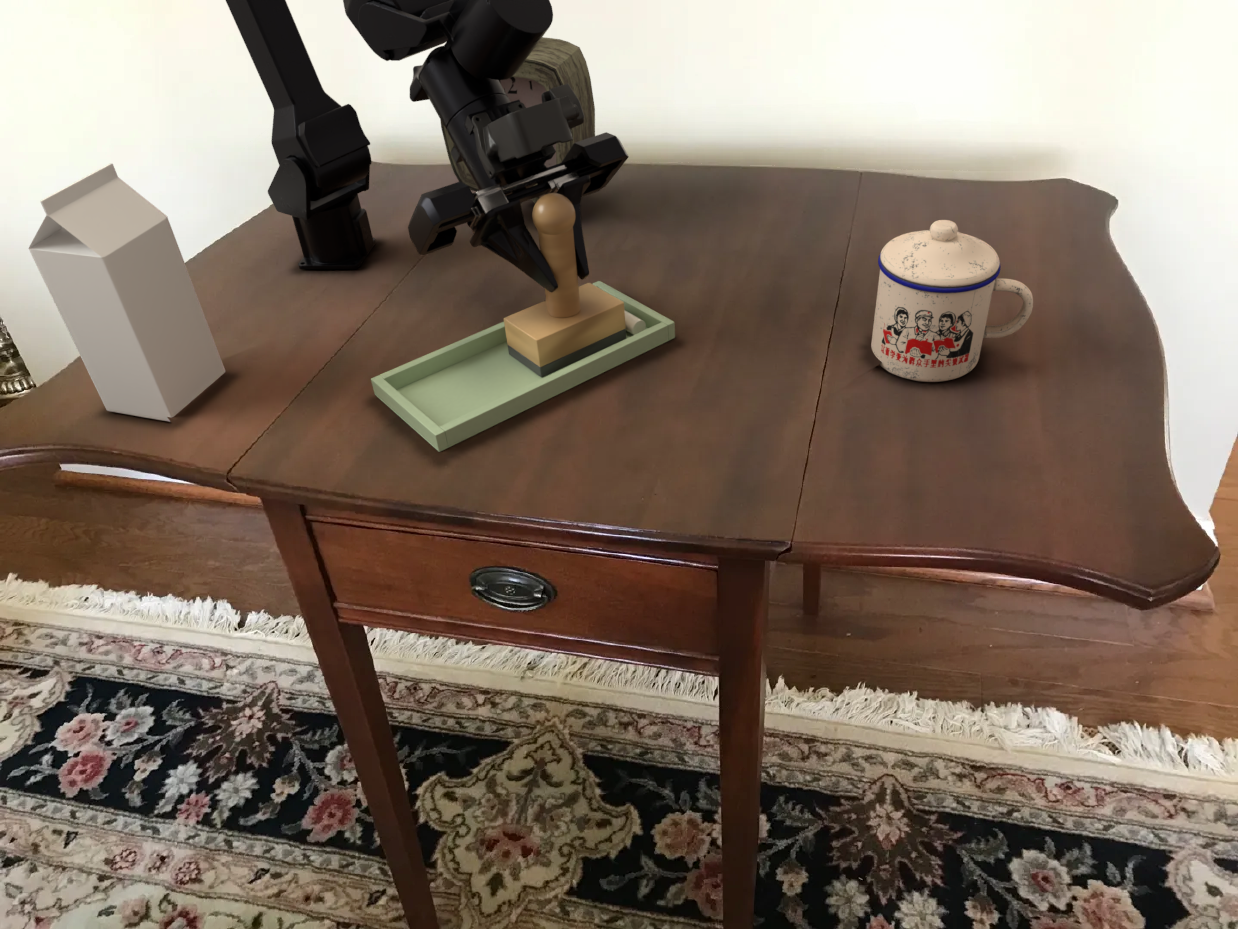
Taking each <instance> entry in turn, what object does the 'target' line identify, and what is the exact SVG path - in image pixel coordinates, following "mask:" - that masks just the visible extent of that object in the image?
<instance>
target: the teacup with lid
mask: <svg viewBox="0 0 1238 929" xmlns="http://www.w3.org/2000/svg"><path fill="white" fill-rule="evenodd" d="M877 263H878V264H877V265H878V267H879V275H878V276H879V277H878V283H877V293H876V301H875V308H874V318H873V320H874V321H873V327H872V334H871V335H872V336H871V344H870V347H871V351H872V353H873V355H874V356H875V357H876V359H878V361H880V363H878V365H879V366H880V367H881V368H882V369H883V370H885V371H886V372H888V373H890V374H892V375H895V376H897V377H900V378H902V379H906V380H910V381H916V382H924V383H938V382H947V381H951V380H955V379H959V378H961V377H963V376H965V375H967V374H969V373H970V372H971V371H973V369H974V368H975V367H976V366H977V364H978V362H979V361H980V360H979V359H980V355H981V351H982V346H983V340H984V339H1000V338H1005V337H1008V336H1010V335H1012V334H1014V333H1016V332H1017V331H1019V330H1020V329H1021V328H1023V326H1024V325H1025V324H1026V322H1027V321H1028V320H1029V318H1030V316H1031V314H1032V312H1033V307H1034V296H1033V293H1032V291H1031V290H1030V288H1029V287H1028V286H1027V285H1026V284H1024V283H1023V282H1021V281H1019V280H1016V279H1012V278H1002V277H1001V278H998V277H999V275H1000V272H1001V269H1002V268H1001V262H1000V258H999V255H998V253H997V251H996V250H995V249H994V248H993V247H992V246H991V245H990V244H988V243H987V242H986V241H984V240H983V239H980V238H978V237H976V236H973V235H970V234H966V233H962V232H960V231H959V227H958V225H957V223H956V222H954V221H952V220H949V219H939V220H935V221H934V222H932V224H931V225H930V227H929V229H924V230H923V229H922V230H916V231H910V232H907V233H903V234H901V235H897V236H896V237H894V238H892V239H890V240H889V241H888V242H887V243H886V244H885V245H884V246H883V248H882V249H881V251H880V253H879V255H878V259H877ZM993 292H1008V293H1013V294H1015V295H1017V296H1019V297H1020V298H1021V299H1022V302H1023V303H1022V306H1021V309H1020V310H1019V312H1018V313H1017V314H1016V315H1015V316H1013V318H1012V319H1010V320H1009V321H1007V322H1006V323H1003V324H998V325H987V320H988V316H989V312H990V311H989V310H990V306H991V302H992V301H991V300H992V296H993Z"/></svg>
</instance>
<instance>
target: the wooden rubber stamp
mask: <svg viewBox="0 0 1238 929" xmlns="http://www.w3.org/2000/svg"><path fill="white" fill-rule="evenodd" d="M575 217H576V215H575V209H574V206H573V204H572V203H571V201H570V200H569V199H568V198H566V197H565V196H563V195H561V194H558V193H549V194H546V195H544V196H542V197H541V198H540V199H538V201H537V202H536V203H534V205H533V207H532V213H531V218H532V223H533V226H534V227H535V228H536V230H537V235H538V236H537V237H538V244H539V249H540V251H541V253H542V255H543V256H544V258H545V260H546V261H547V263H548V265H549V266H550V268H551V270H552V272H553V275H554V277H555V279H556V281H557V284H558V288H557V289H556V291H554V292H552V293H551V292H549V291H548V290H546V289H545V288H544V294H545V300H543V301H541V302H539V303H537V304H534V305H532V306H529V307H527V308H525V309H522V310H520V311H517V312H514V313H512V314H509V315H508V316H505V317H503V322H504V325H505V331H506V338H507V344H508V351H509V355H511V356H512V357H513V358H515V359H516V360H518V361H519V362H520V363H522V364H523V365H525V366H526V367H527V368H529V369H530V370H532V371H533V372H534V373H536V374H537V375H539V376H540V377H544V376H546V375H548V374H550V373H553V372H555V371H557V370H559V369H561V368H563V367H566V366H568V365H570V364H572V363H574V362H576V361H579V360H581V359H583V358H585V357H587V356H589V355H592V354H594V353H596V352H598V351H600V350H602V349H605V348H607V347H609V346H611V345H613V344H616V343H618V342H620V341H622V340H624V339H626V329H625V328H626V326H625V310H624V302H623V301H621V300H619V299H617V298H616V297H614V296H612V295H610V294H609V293H607V292H605V291H603V290H602V289H600V288H598V287H596V286H595V285H593V283H591V282H587V283H584V284H582V285H579V277H578V275H577V265H576V255H575V244H574V234H573V225H574V223H575Z"/></svg>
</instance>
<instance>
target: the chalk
mask: <svg viewBox="0 0 1238 929" xmlns="http://www.w3.org/2000/svg"><path fill="white" fill-rule="evenodd" d="M625 326H626V328H625V329H626V331H627V332H629V333H631V334H632V335H635V334H638V333H640V332H642V331H644V330H645V328H646V324H645V322H644V321H643V320H641V319H639V318H638V317H636V316H634V315H632V314H631V313H629V312H627V311H625Z"/></svg>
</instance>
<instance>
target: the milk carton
mask: <svg viewBox="0 0 1238 929" xmlns="http://www.w3.org/2000/svg"><path fill="white" fill-rule="evenodd" d="M39 202H40V204H41V206H42V209H43V211H44V213H45V217H44V219H43V220H42V222H41V224H40V226H39V228H38V230H37V232H36V234H35V235H34V237H33V239H32V241H31V242H30V245H29V247H28V250H29V253H30V255H31V257H32V259H33V261H34V263H35V266H36V267H37V269H38V271H39V274H40V276H41V278H42V280H43V282H44V284H45V286H46V288H47V290H48V292H49V294H50V296H51V298H52V300H53V303H54V305H55V307H56V308H57V311H58V312H59V315H60V317H61V319H62V321H63V323H64V325H65V327H66V329H67V331H68V333H69V336H70V337H71V340H72V343H73V344H74V346H75V349H76V350H77V352H78V355H79V356H80V358H81V360H82V362H83V365H84V367H85V369H86V371H87V373H88V375H89V377H90V379H91V381H92V383H93V385H94V387H95V389H96V391H97V393H98V396H99V398H100V400H101V401H102V404H103V406H104V408H105V410H106V411H107V412H111V413H116V414H121V415H122V414H123V415H128V416H135V417H139V418H145V419H151V420H157V421H161V422H162V421H163V422H168V423H171V420H170V418H171V419H172V418H175V416H176V415H178V414H179V413H180V412H181V411H182V410H183V409H184V408H186V407H187V406H188V405H189V404H190V403H191V402H193V401H194V400H195V399H196V398H197V397H199V396H200V395H201V394H202V393H203V392H204V391H205V390H207V389H208V388H209V387H210V386H211V385H212V384H214V383H215V382H216V381H217V380H218V379H219V378H221V376H223V375H224V374H225V373H226V369H225V366H224V363H223V360H222V358H221V356H220V353H219V350H218V348H217V344H216V341H215V339H214V337H213V334H212V331H211V329H210V326H209V324H208V321H207V318H206V315H205V313H204V310H203V307H202V305H201V303H200V300H199V297H198V295H197V291H196V289H195V287H194V284H193V281H192V279H191V275H190V274H189V273H190V272H189V271H188V268H187V266H186V263H185V260H184V258H183V255H182V251H181V249H180V247H179V244H178V241H177V239H176V237H175V234H174V231H173V228H172V226H171V222H170V220H169V218H168V216H167V215H166V214H165V213H164V212H163V211H161V210H160V209H159V208H158V207H156V206H155V205H154V204H153V203H151V202H150V201H149V200H148V199H146V198H145V196H142V195H141V194H140V193H139V192H137V191H136V190H135V189H134V188H133V187H131V186H130V185H129V184H128V183H126V182H125V181H124V180H123V179H121V177H119V175H118V174H117V170H116V168H115V166H114V164H113V163H108V164H106V165H105V166H102V167H100V168H99V169H97V170H95V171H93V172H91V173H89V174H87V175H86V176H84V177H82V178H80V179H78V180H76V181H74V182H73V183H71V184H69V185H67V186H65V187H63V188H61V189H59V190H57V191H55V192H53V193H51V194H50V195H48V196H46V197H44V198H42V199H41V200H40V201H39Z"/></svg>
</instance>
